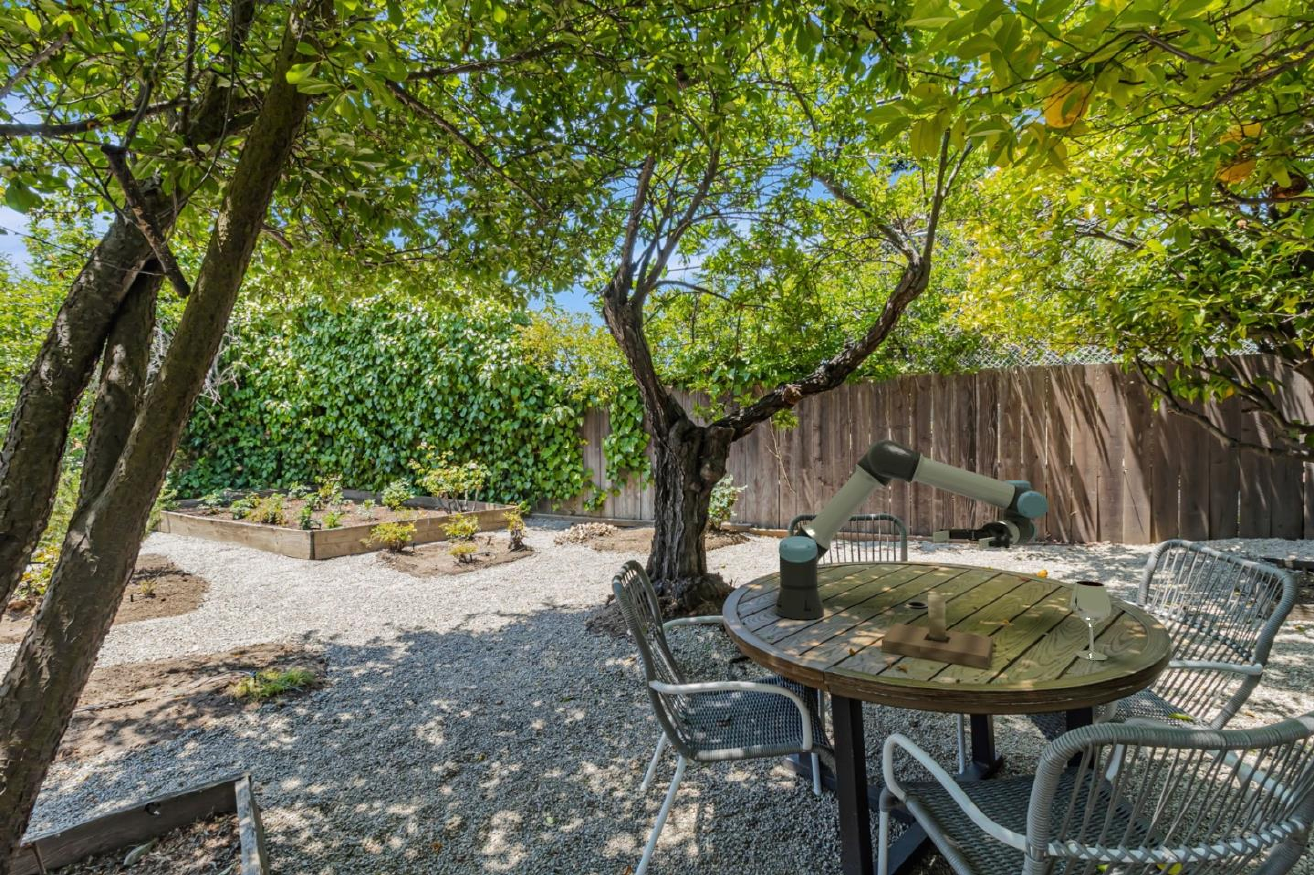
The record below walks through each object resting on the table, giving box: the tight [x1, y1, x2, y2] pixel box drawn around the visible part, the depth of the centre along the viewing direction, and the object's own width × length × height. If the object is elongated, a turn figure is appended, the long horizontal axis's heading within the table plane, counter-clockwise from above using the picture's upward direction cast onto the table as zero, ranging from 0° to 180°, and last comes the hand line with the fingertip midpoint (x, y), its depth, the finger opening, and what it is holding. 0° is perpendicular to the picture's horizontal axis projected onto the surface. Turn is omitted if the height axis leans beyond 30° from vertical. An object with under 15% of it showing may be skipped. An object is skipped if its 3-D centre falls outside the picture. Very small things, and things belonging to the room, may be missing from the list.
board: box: [881, 622, 994, 670], centre depth 153 cm, size 24×16×3 cm, turn 57°
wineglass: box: [1070, 580, 1112, 661], centre depth 146 cm, size 8×8×18 cm
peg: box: [927, 593, 947, 643], centre depth 153 cm, size 4×4×14 cm
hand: (956, 540), depth 165 cm, fingers open, 13 cm apart
